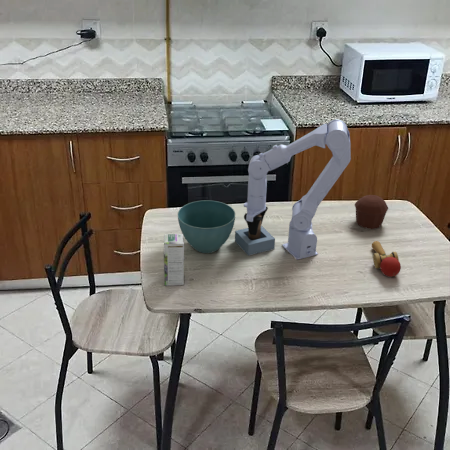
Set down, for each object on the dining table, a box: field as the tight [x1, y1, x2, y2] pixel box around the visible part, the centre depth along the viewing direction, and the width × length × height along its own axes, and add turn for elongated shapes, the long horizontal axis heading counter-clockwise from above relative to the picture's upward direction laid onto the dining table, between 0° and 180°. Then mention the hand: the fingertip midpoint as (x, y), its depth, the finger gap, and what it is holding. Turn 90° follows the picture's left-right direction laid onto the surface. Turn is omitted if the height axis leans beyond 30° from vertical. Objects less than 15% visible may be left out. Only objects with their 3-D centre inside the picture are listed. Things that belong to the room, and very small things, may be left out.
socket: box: [234, 225, 276, 256], centre depth 188 cm, size 10×10×4 cm
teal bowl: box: [177, 199, 236, 254], centre depth 185 cm, size 18×18×12 cm
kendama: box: [371, 240, 402, 278], centre depth 180 cm, size 8×6×18 cm
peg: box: [248, 214, 262, 240], centre depth 186 cm, size 4×4×8 cm
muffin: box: [354, 194, 389, 230], centre depth 201 cm, size 12×11×10 cm
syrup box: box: [163, 233, 185, 287], centre depth 168 cm, size 6×6×14 cm
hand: (255, 230), depth 187 cm, fingers closed on peg, 4 cm apart
